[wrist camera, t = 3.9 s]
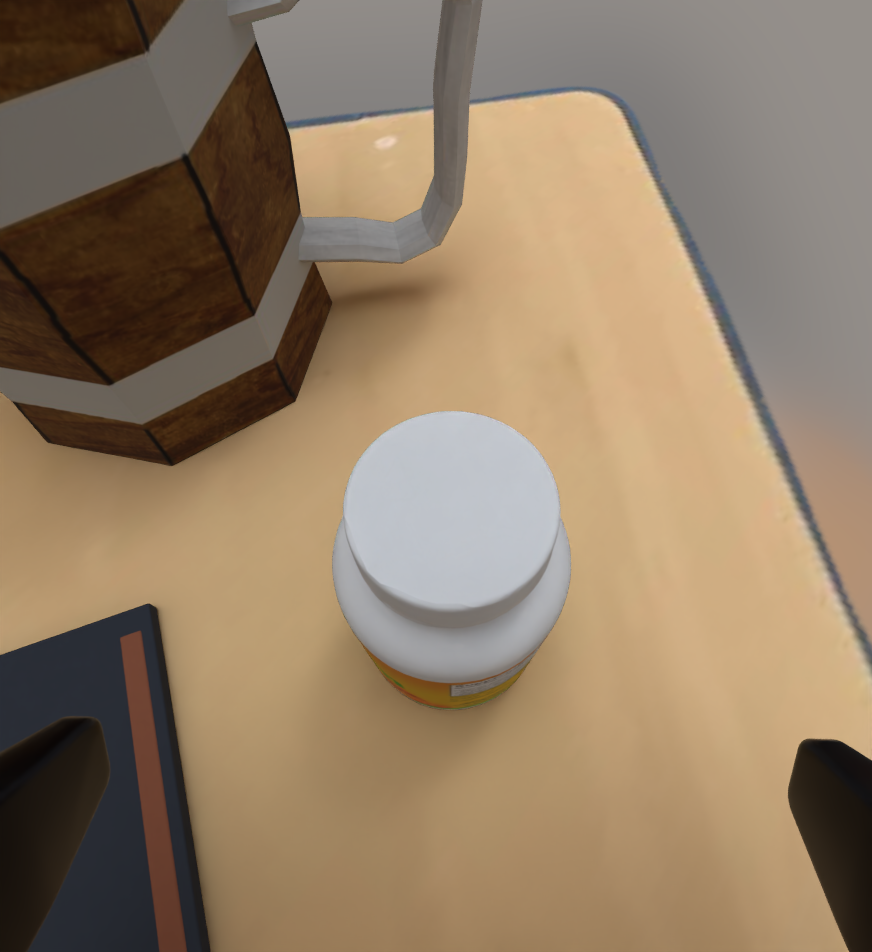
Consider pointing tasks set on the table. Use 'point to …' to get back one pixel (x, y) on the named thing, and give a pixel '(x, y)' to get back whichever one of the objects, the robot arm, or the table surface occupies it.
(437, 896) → the table surface
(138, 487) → the table surface
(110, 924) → the placemat
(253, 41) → the mug
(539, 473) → the supplement bottle
